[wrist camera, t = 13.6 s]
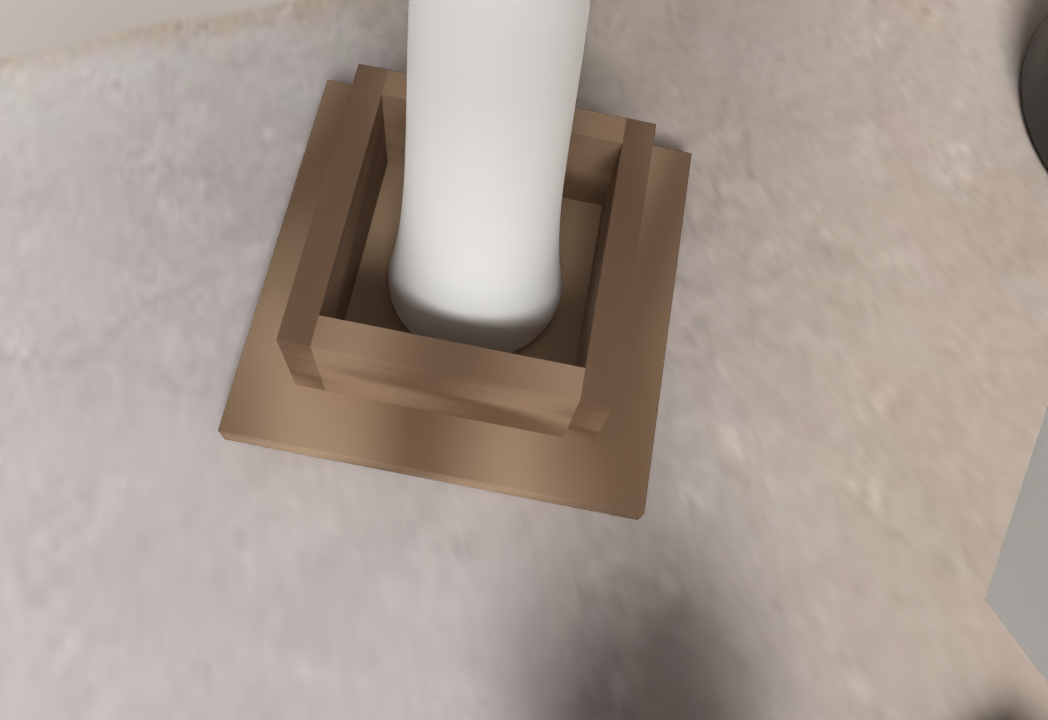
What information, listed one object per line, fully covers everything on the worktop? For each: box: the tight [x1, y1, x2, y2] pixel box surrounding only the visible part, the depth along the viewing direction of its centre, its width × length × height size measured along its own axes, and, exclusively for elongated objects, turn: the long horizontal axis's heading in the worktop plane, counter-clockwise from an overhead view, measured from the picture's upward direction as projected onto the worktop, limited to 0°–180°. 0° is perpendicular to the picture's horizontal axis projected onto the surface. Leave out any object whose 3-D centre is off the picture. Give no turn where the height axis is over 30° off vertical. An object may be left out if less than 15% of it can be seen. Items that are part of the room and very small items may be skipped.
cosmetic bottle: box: [388, 0, 591, 353], centre depth 23 cm, size 6×6×22 cm
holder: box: [218, 64, 691, 520], centre depth 31 cm, size 14×14×5 cm
